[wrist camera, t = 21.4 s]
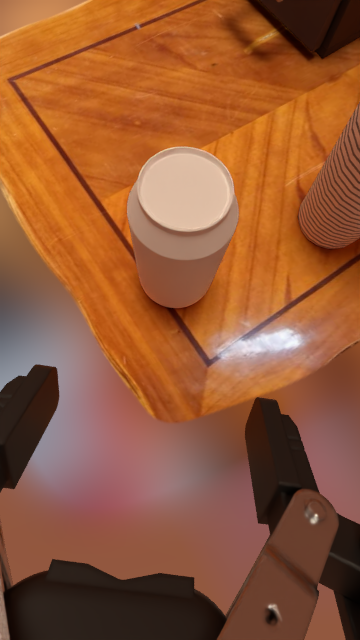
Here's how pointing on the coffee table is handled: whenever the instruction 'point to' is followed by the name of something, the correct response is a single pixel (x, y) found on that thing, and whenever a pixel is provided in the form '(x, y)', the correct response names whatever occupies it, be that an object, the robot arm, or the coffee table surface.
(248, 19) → the coffee table surface
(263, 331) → the coffee table surface
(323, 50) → the single drawer box
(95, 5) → the coffee table surface
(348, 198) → the cup
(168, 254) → the beverage can
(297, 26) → the pull-out drawer
